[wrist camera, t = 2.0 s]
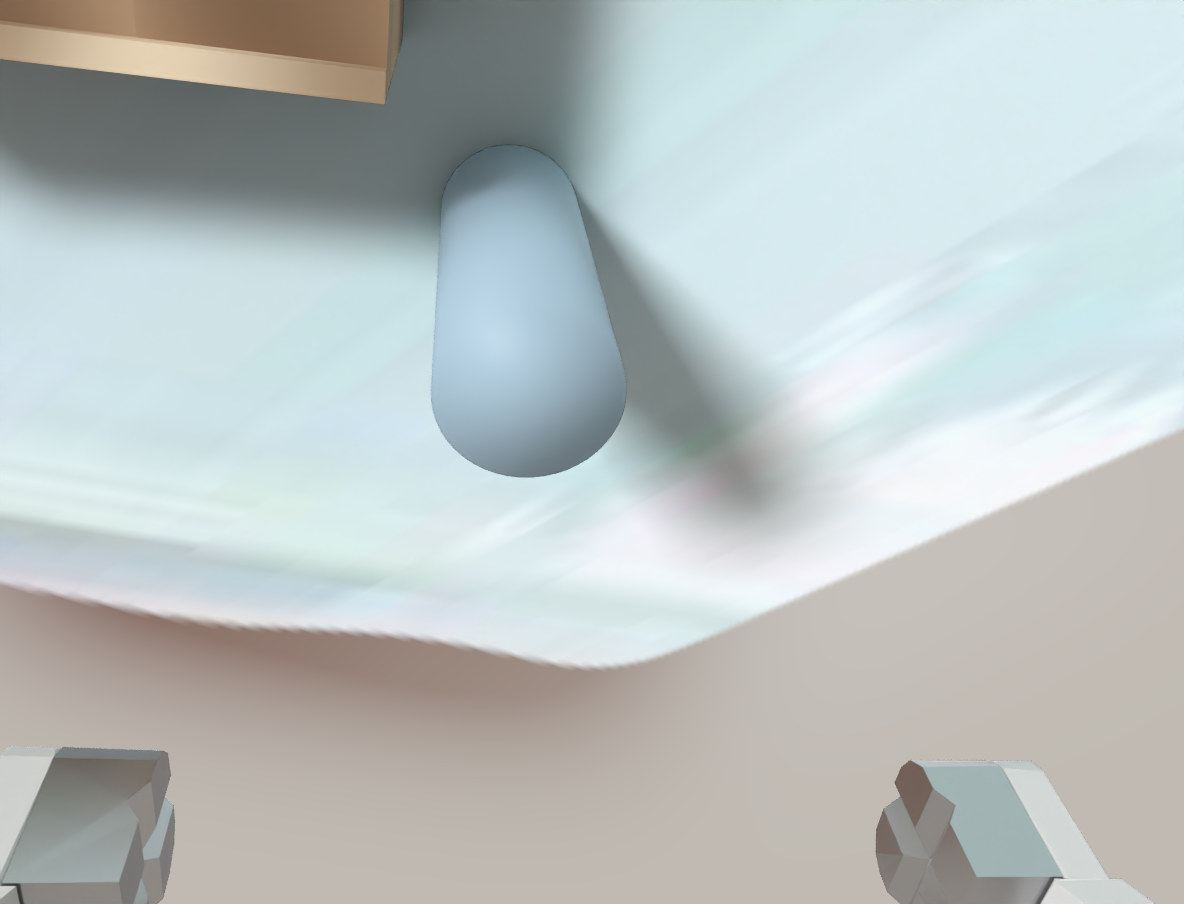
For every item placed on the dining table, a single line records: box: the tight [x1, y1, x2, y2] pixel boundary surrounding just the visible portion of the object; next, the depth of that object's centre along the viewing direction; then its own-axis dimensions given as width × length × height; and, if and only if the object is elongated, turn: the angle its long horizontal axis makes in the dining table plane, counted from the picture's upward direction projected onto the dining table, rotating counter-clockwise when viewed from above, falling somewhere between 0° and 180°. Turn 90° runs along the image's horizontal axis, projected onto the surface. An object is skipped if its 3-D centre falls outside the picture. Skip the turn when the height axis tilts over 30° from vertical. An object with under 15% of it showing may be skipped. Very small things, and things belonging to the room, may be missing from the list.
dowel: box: [431, 145, 627, 477], centre depth 24 cm, size 4×4×10 cm
